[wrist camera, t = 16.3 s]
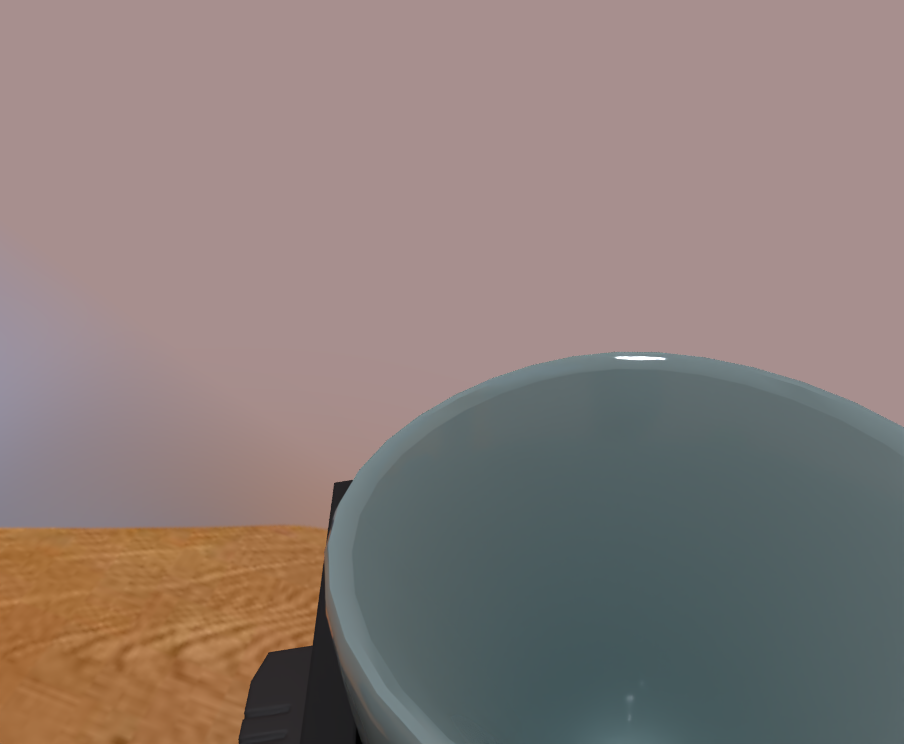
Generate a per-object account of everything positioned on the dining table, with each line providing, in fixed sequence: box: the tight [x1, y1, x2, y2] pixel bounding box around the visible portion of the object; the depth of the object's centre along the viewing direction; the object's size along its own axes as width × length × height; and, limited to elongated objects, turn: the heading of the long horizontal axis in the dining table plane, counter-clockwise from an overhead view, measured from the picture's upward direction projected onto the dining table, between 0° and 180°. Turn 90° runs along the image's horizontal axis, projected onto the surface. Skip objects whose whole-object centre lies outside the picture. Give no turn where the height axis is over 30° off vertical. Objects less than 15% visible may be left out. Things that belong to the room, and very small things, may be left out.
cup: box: [324, 352, 904, 744], centre depth 10 cm, size 8×8×10 cm
